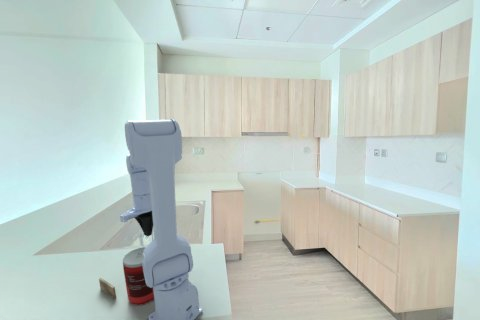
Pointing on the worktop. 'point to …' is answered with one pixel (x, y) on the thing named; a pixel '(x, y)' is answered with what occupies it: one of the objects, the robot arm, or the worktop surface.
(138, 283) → the canned food
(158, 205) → the robot arm
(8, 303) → the worktop surface
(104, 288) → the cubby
